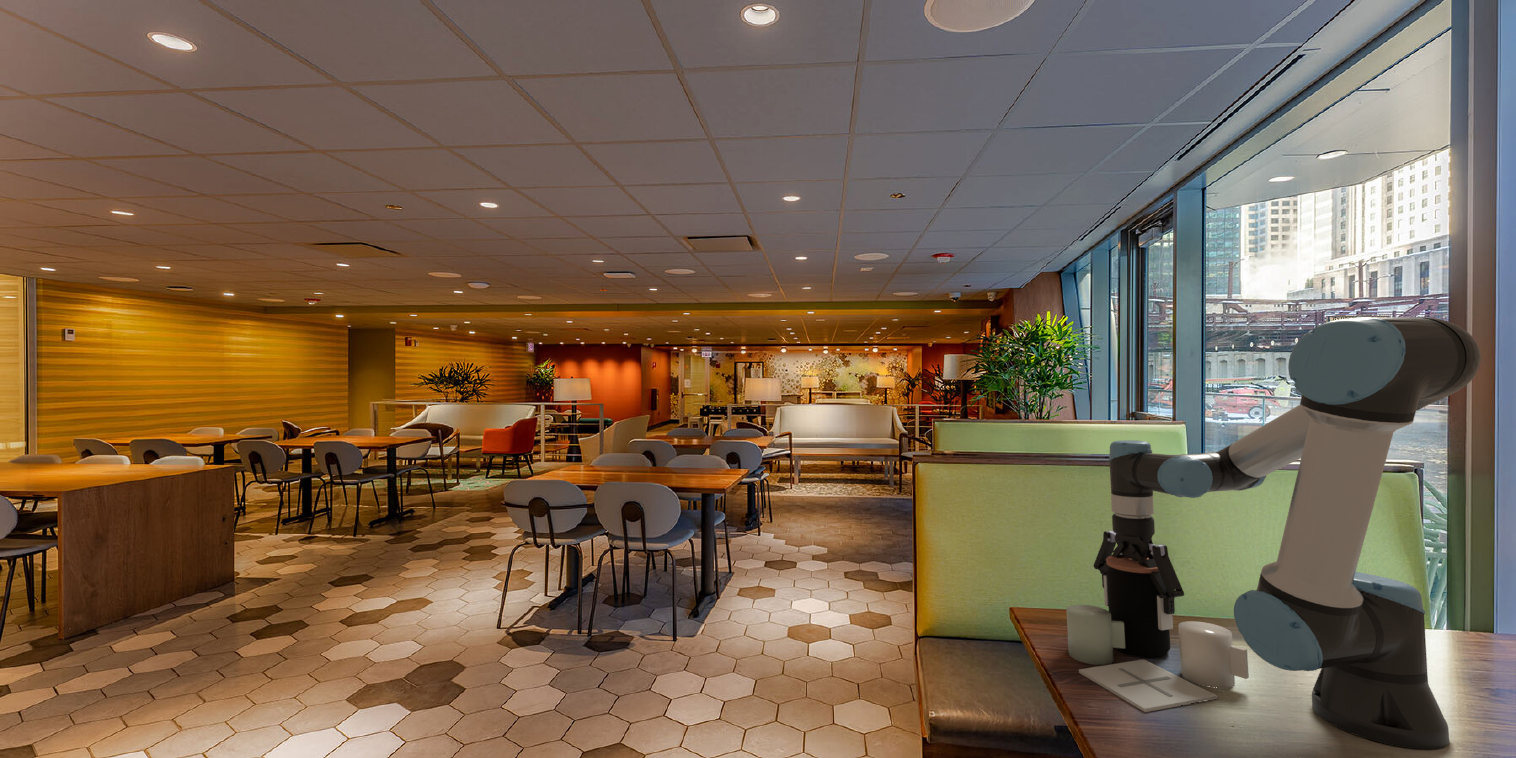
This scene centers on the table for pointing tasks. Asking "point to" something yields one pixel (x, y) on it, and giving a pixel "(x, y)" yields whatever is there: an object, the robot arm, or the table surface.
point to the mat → (1146, 685)
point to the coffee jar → (1136, 607)
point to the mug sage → (1093, 634)
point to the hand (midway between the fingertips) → (1137, 616)
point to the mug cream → (1210, 655)
